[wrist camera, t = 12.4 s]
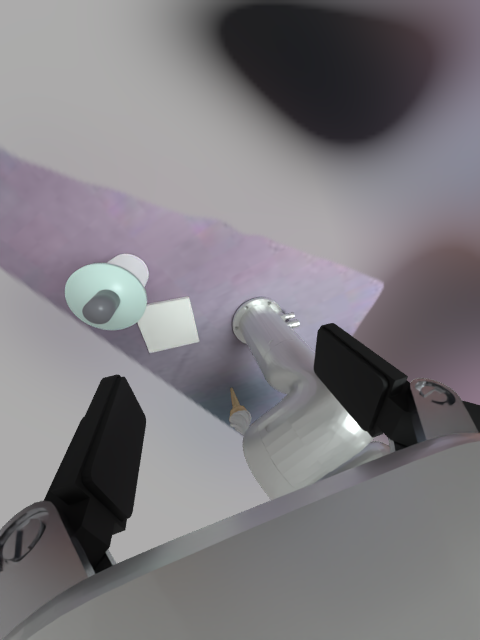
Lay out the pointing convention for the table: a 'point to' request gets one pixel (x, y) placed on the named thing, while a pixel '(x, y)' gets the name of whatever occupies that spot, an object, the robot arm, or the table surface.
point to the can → (132, 266)
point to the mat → (168, 324)
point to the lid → (106, 296)
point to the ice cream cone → (239, 415)
